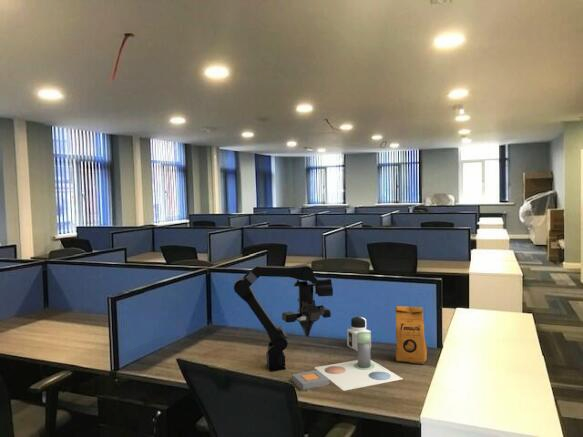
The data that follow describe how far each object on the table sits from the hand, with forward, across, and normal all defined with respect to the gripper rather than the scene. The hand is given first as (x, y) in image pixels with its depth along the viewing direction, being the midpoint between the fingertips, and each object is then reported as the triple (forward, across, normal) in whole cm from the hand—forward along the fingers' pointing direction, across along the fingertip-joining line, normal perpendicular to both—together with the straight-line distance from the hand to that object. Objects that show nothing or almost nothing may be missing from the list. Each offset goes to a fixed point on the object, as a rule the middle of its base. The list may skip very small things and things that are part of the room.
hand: (307, 336), depth 186 cm
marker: (+11, +19, -11) cm, 25 cm away
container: (+12, +30, +12) cm, 35 cm away
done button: (+12, -6, -16) cm, 21 cm away
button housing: (+12, -6, -16) cm, 21 cm away
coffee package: (+12, +40, -12) cm, 44 cm away
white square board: (+12, +13, -16) cm, 24 cm away
